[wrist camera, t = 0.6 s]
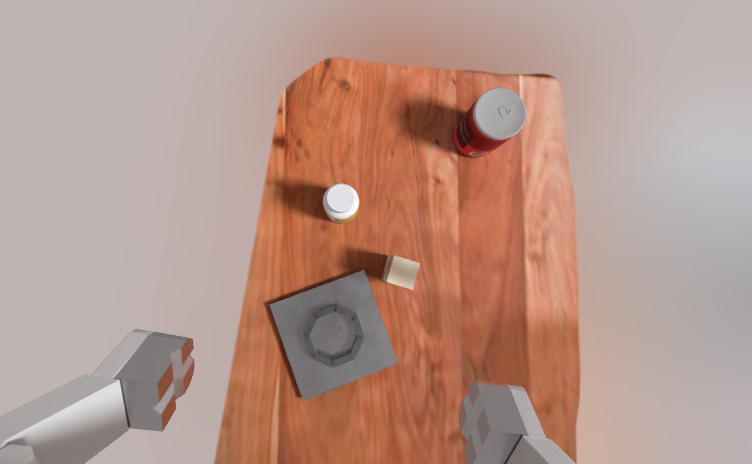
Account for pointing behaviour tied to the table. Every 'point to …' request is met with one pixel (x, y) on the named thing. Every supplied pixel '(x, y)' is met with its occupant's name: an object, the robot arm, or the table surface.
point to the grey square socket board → (333, 334)
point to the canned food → (489, 122)
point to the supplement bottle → (341, 203)
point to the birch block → (400, 271)
